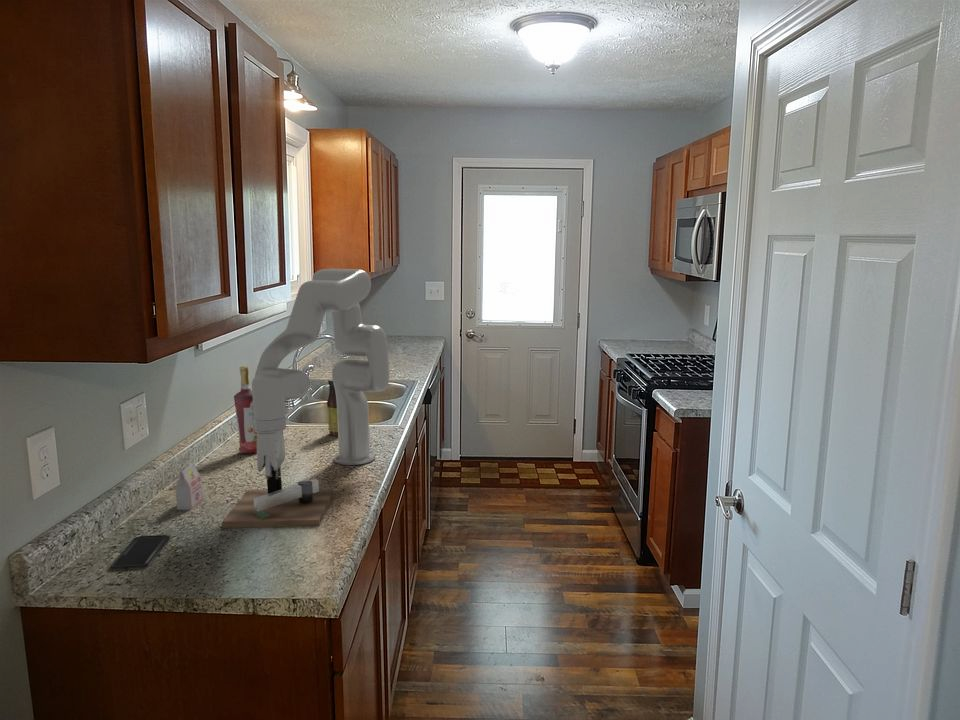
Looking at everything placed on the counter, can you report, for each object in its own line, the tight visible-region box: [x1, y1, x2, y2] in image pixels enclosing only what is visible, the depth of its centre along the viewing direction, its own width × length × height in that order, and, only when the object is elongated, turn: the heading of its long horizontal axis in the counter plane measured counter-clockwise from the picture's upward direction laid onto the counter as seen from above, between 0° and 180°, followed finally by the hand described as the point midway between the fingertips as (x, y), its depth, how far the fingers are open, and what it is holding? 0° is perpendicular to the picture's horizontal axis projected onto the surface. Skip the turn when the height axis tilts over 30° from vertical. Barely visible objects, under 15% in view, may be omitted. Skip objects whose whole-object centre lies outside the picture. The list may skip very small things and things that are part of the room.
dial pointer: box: [253, 478, 320, 512], centre depth 170 cm, size 18×4×5 cm, turn 138°
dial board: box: [221, 487, 335, 529], centre depth 173 cm, size 21×23×2 cm
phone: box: [109, 534, 171, 571], centre depth 150 cm, size 8×1×15 cm
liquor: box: [233, 365, 257, 455], centre depth 217 cm, size 7×7×28 cm
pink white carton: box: [174, 463, 204, 511], centre depth 176 cm, size 4×7×10 cm, turn 177°
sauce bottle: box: [326, 378, 338, 437], centre depth 237 cm, size 7×6×20 cm
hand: (275, 492), depth 174 cm, fingers closed
